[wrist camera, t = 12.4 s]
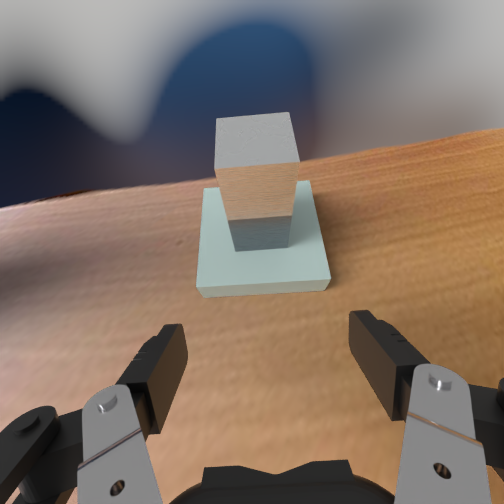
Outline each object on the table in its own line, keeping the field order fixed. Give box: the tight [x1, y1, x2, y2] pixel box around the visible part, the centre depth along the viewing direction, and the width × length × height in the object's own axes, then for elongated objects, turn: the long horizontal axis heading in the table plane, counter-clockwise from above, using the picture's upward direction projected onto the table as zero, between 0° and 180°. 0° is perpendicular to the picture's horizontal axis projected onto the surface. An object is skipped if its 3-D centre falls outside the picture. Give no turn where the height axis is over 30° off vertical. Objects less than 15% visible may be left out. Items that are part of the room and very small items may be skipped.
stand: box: [196, 180, 331, 298], centre depth 25 cm, size 12×12×3 cm
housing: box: [214, 112, 300, 252], centre depth 19 cm, size 5×5×10 cm
